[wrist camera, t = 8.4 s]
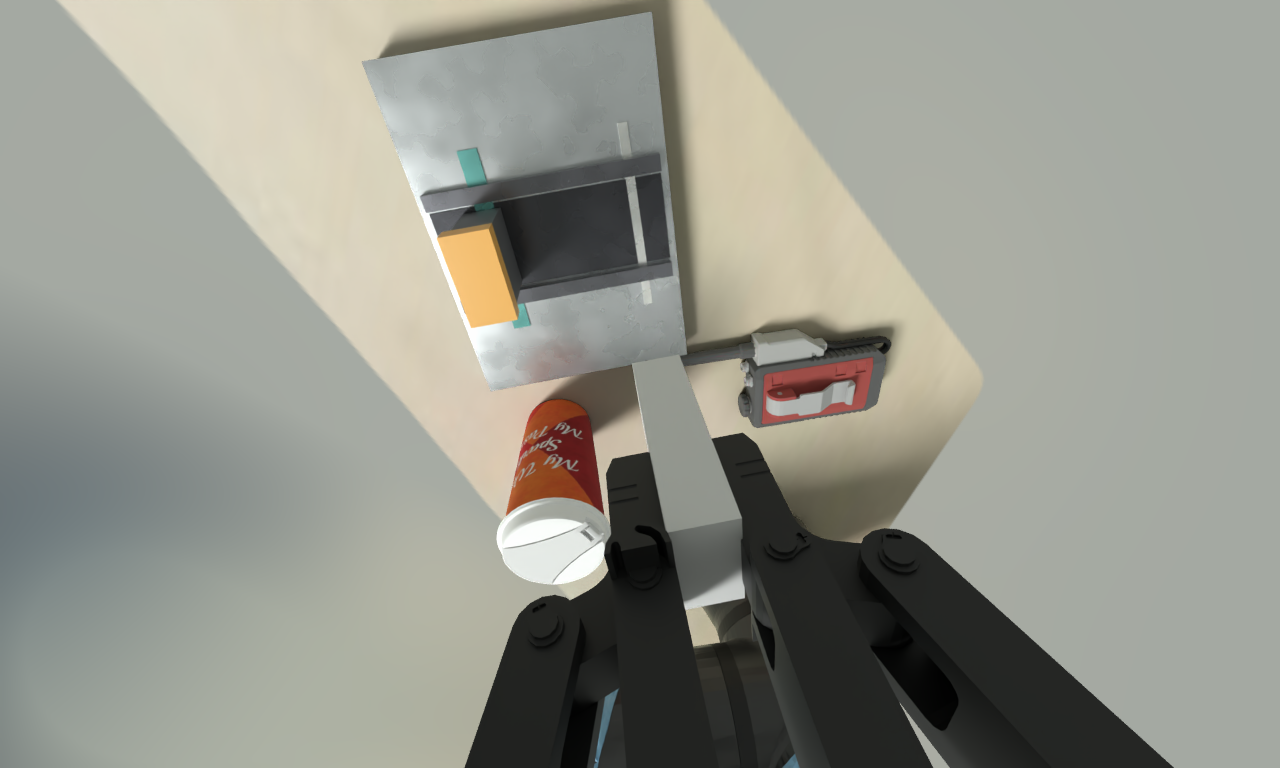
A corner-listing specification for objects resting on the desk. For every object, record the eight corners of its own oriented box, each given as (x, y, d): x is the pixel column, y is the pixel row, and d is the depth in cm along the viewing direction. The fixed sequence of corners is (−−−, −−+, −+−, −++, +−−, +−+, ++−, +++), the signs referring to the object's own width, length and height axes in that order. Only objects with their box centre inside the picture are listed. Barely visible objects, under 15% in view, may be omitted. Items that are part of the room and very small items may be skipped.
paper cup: (568, 373, 40) (566, 495, 29) (617, 430, 44) (634, 557, 32) (496, 418, 42) (466, 550, 30) (550, 468, 46) (542, 603, 34)
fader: (525, 282, 33) (517, 319, 28) (486, 290, 33) (471, 328, 28) (502, 203, 30) (488, 228, 25) (458, 211, 30) (436, 238, 25)
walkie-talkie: (886, 310, 41) (657, 344, 40) (917, 333, 37) (666, 371, 36) (869, 393, 46) (665, 425, 45) (895, 420, 42) (673, 456, 41)
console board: (682, 342, 40) (688, 358, 38) (494, 377, 40) (489, 395, 37) (647, 15, 28) (653, 10, 25) (374, 62, 27) (357, 61, 25)
